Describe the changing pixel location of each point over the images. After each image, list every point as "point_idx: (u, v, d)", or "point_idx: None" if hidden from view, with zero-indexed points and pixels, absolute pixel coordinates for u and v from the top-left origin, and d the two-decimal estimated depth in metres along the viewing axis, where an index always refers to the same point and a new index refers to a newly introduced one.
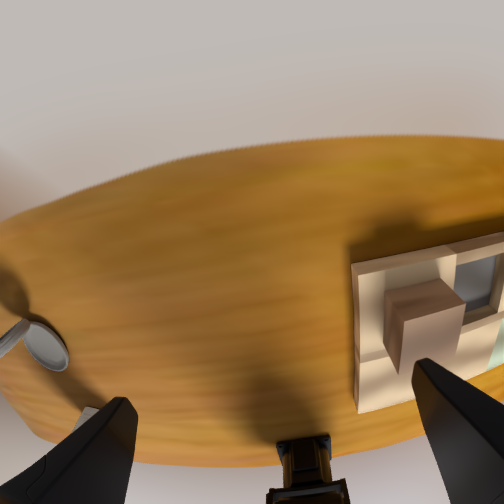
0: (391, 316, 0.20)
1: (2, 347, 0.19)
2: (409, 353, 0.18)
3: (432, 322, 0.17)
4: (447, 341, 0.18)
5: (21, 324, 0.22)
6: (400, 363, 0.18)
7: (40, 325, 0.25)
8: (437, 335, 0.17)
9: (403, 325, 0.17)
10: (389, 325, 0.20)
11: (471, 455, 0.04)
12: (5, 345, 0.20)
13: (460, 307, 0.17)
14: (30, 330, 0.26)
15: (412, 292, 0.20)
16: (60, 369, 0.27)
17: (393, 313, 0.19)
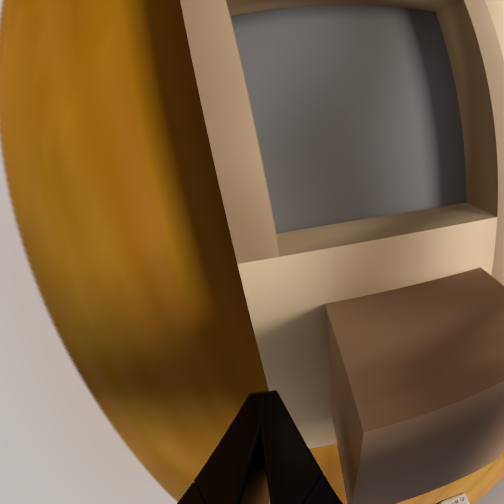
0: None
1: None
2: (450, 477, 0.05)
3: (386, 483, 0.05)
4: (491, 412, 0.04)
5: None
6: (466, 473, 0.05)
7: None
8: (444, 453, 0.04)
9: None
10: None
11: None
12: None
13: (372, 443, 0.04)
14: None
15: (336, 406, 0.08)
16: None
17: None
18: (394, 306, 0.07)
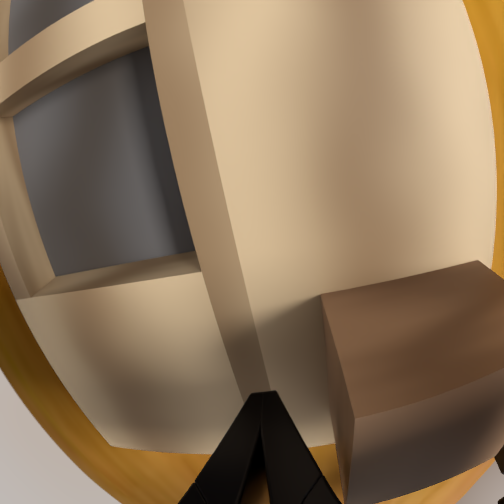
0: None
1: None
2: (448, 472, 0.05)
3: (381, 476, 0.05)
4: (488, 404, 0.04)
5: None
6: (465, 469, 0.05)
7: None
8: (440, 446, 0.04)
9: None
10: None
11: None
12: None
13: (365, 431, 0.04)
14: None
15: (332, 398, 0.08)
16: None
17: None
18: (389, 296, 0.07)
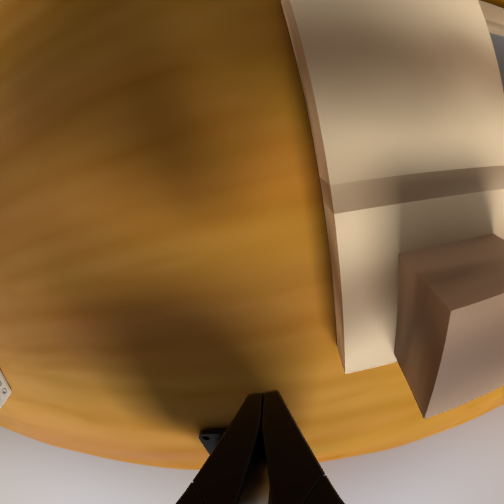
0: (415, 303, 0.09)
1: None
2: (450, 379, 0.08)
3: (500, 313, 0.07)
4: None
5: None
6: (431, 398, 0.08)
7: None
8: None
9: (449, 320, 0.07)
10: (408, 322, 0.10)
11: None
12: None
13: None
14: None
15: (453, 254, 0.09)
16: None
17: (420, 297, 0.09)
18: None
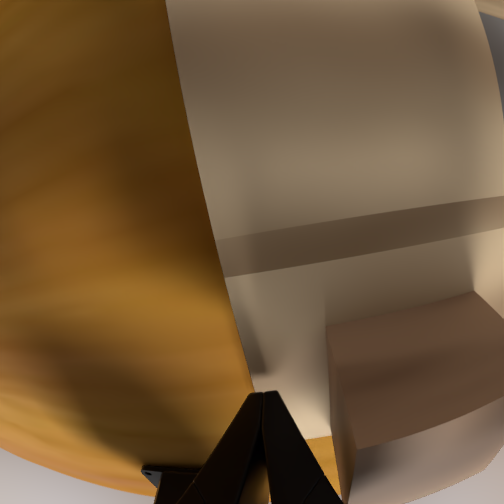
0: (337, 399, 0.07)
1: None
2: (372, 494, 0.05)
3: (453, 435, 0.04)
4: (479, 455, 0.05)
5: None
6: None
7: None
8: (458, 453, 0.05)
9: (355, 456, 0.04)
10: (335, 411, 0.08)
11: None
12: None
13: None
14: None
15: (404, 332, 0.07)
16: None
17: (339, 397, 0.06)
18: None
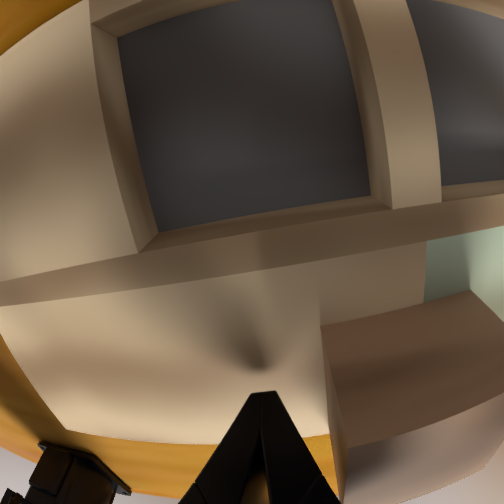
0: (332, 398, 0.07)
1: None
2: (368, 493, 0.05)
3: (446, 435, 0.04)
4: (475, 454, 0.05)
5: None
6: None
7: None
8: (454, 453, 0.05)
9: (347, 454, 0.05)
10: (330, 410, 0.08)
11: None
12: None
13: None
14: None
15: (398, 331, 0.07)
16: None
17: (333, 396, 0.06)
18: None
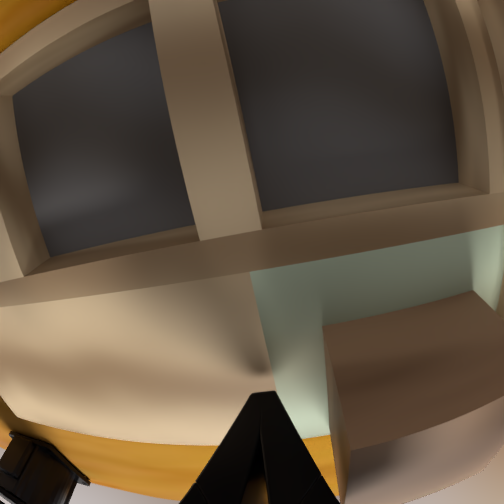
0: (334, 399, 0.07)
1: None
2: (369, 494, 0.05)
3: (449, 437, 0.04)
4: (477, 455, 0.05)
5: None
6: None
7: None
8: (456, 455, 0.05)
9: (349, 457, 0.04)
10: (332, 411, 0.08)
11: None
12: None
13: None
14: None
15: (401, 332, 0.07)
16: None
17: (335, 397, 0.06)
18: None
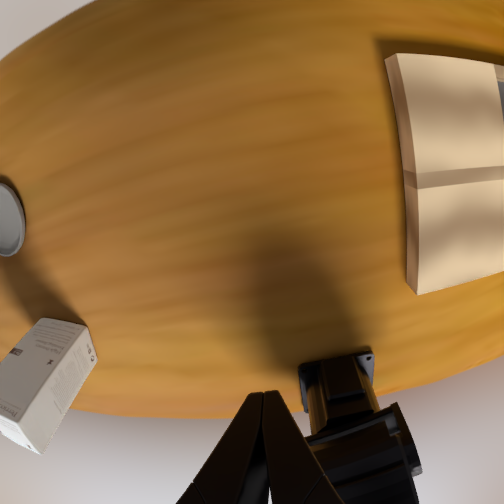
0: None
1: None
2: None
3: None
4: None
5: None
6: None
7: (0, 184, 0.18)
8: None
9: None
10: None
11: None
12: None
13: None
14: None
15: None
16: (14, 251, 0.20)
17: None
18: None
